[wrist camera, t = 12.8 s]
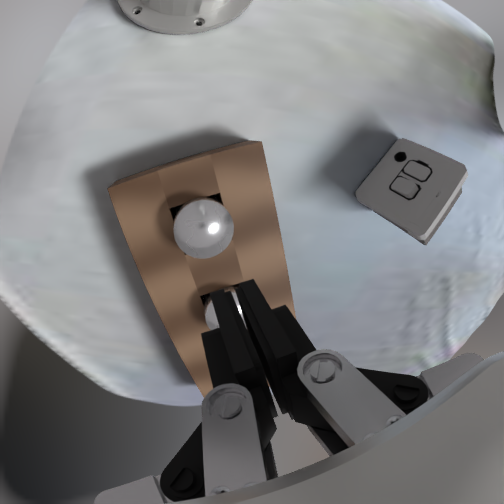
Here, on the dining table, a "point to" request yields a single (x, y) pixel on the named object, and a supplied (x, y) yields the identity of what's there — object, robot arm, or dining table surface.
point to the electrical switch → (413, 188)
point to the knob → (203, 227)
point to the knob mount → (209, 269)
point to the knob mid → (210, 311)
